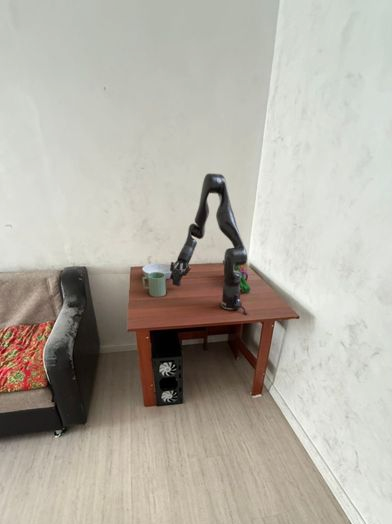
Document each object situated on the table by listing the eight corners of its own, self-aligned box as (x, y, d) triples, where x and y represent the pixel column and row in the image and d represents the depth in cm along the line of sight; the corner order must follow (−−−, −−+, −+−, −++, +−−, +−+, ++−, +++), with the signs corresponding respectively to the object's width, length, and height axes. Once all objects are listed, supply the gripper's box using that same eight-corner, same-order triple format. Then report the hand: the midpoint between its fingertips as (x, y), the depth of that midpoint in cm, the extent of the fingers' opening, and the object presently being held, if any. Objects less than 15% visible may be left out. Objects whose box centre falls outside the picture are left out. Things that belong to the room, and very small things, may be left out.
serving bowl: (178, 281, 194) (178, 271, 190) (148, 286, 187) (147, 276, 182) (167, 270, 209) (167, 261, 205) (139, 274, 202) (138, 265, 198)
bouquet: (233, 303, 185) (219, 275, 204) (257, 300, 188) (241, 273, 207) (239, 276, 170) (223, 249, 189) (265, 274, 174) (247, 248, 193)
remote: (174, 283, 185) (174, 267, 179) (180, 284, 183) (180, 269, 177) (172, 284, 183) (171, 269, 177) (178, 286, 181) (177, 270, 175)
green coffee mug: (167, 290, 183) (166, 272, 176) (164, 297, 175) (163, 279, 168) (145, 288, 184) (144, 271, 177) (141, 295, 176) (139, 277, 169)
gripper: (173, 249, 180) (162, 274, 179) (193, 253, 174) (181, 279, 173) (178, 255, 187) (168, 279, 186) (197, 260, 181) (186, 285, 179)
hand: (174, 279), depth 179 cm, fingers closed on remote, 4 cm apart
